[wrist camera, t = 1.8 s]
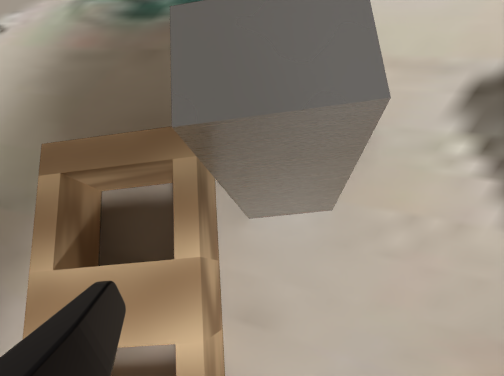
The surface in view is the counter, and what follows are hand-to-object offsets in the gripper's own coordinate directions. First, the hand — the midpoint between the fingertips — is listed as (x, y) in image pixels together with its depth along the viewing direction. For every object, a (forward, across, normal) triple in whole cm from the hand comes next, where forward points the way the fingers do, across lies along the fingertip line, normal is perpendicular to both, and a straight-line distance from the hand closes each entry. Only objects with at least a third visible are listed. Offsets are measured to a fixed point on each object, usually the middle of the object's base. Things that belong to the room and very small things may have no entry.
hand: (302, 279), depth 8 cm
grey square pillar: (+12, 0, +5) cm, 13 cm away
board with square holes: (+8, +9, +9) cm, 15 cm away
